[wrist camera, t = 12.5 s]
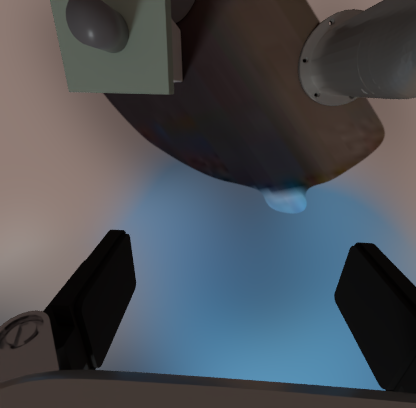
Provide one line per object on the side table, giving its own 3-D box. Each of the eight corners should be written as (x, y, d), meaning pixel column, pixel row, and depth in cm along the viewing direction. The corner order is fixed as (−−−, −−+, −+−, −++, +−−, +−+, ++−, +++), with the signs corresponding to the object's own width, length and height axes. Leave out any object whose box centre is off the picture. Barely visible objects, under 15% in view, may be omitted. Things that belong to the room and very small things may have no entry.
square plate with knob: (169, -30, 21) (148, -76, 15) (173, 93, 25) (158, 95, 19) (60, -30, 21) (-2, -75, 16) (83, 91, 26) (41, 92, 20)
